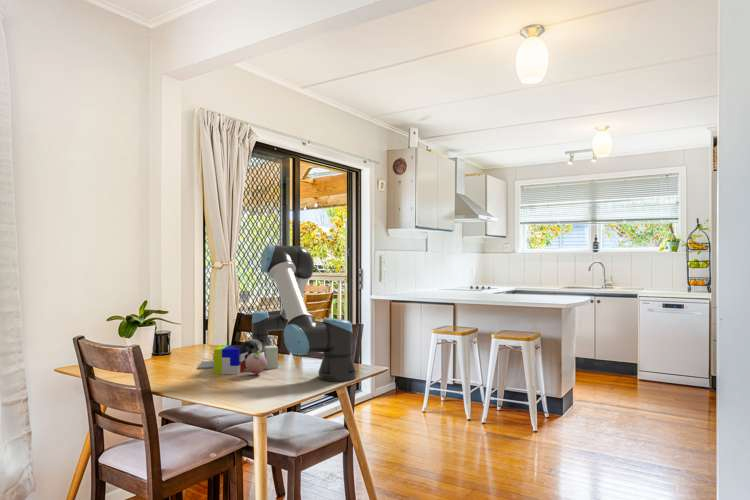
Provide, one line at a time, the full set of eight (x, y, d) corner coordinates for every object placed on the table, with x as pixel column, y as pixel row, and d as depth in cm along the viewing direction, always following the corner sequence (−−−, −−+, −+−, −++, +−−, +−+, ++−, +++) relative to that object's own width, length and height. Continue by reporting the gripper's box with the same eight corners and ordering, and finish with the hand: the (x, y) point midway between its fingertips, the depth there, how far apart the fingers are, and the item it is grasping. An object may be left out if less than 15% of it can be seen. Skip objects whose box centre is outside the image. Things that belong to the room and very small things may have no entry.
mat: (229, 367, 219) (229, 366, 219) (197, 369, 217) (197, 367, 217) (231, 361, 232) (231, 360, 232) (201, 362, 229) (201, 361, 229)
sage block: (277, 368, 219) (277, 347, 219) (266, 369, 217) (266, 348, 217) (275, 365, 223) (275, 345, 224) (264, 366, 222) (264, 346, 222)
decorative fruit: (244, 373, 210) (245, 348, 210) (265, 371, 212) (265, 347, 212) (246, 378, 201) (246, 352, 201) (267, 376, 203) (267, 351, 203)
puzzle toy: (238, 374, 208) (238, 349, 208) (213, 373, 208) (213, 349, 208) (244, 368, 218) (245, 345, 218) (221, 368, 218) (221, 345, 218)
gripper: (274, 357, 229) (253, 368, 208) (226, 355, 235) (200, 365, 213) (275, 341, 229) (253, 349, 208) (226, 339, 235) (200, 347, 213)
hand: (226, 357), depth 211 cm, fingers closed on puzzle toy, 11 cm apart
